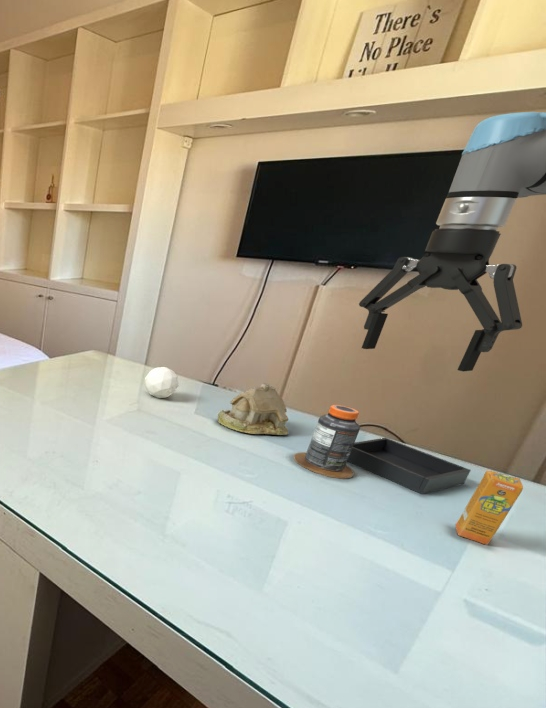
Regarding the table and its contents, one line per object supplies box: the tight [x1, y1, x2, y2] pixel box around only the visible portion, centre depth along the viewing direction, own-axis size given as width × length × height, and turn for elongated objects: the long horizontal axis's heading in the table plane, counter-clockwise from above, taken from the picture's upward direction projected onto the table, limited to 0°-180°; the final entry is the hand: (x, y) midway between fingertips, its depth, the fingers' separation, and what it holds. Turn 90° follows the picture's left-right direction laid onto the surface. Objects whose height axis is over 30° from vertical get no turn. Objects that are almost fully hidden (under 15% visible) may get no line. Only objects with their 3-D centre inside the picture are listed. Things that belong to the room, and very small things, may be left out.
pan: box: [347, 437, 471, 495], centre depth 85 cm, size 13×13×3 cm
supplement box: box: [455, 470, 524, 546], centre depth 65 cm, size 3×3×10 cm
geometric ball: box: [144, 366, 179, 399], centre depth 114 cm, size 8×8×8 cm
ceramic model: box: [217, 382, 289, 436], centre depth 99 cm, size 14×11×10 cm
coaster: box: [293, 452, 354, 480], centre depth 85 cm, size 9×9×1 cm
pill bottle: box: [305, 404, 361, 471], centre depth 83 cm, size 6×6×11 cm
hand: (412, 358), depth 79 cm, fingers open, 13 cm apart
